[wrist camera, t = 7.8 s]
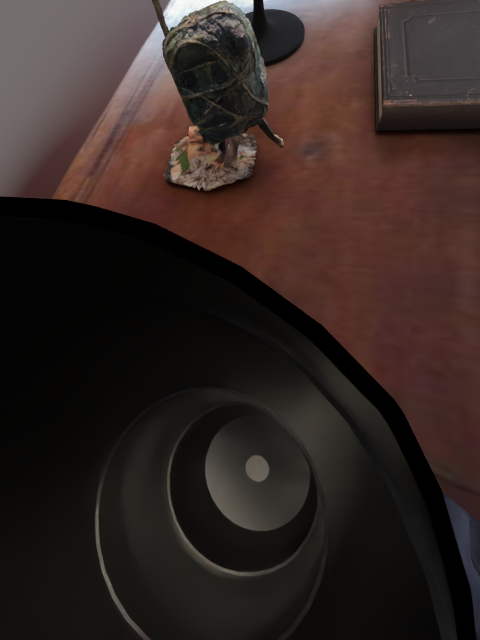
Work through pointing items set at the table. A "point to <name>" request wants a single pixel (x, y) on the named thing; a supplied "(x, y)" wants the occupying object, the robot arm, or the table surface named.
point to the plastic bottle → (198, 454)
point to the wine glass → (275, 32)
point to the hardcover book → (427, 65)
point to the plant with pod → (216, 94)
